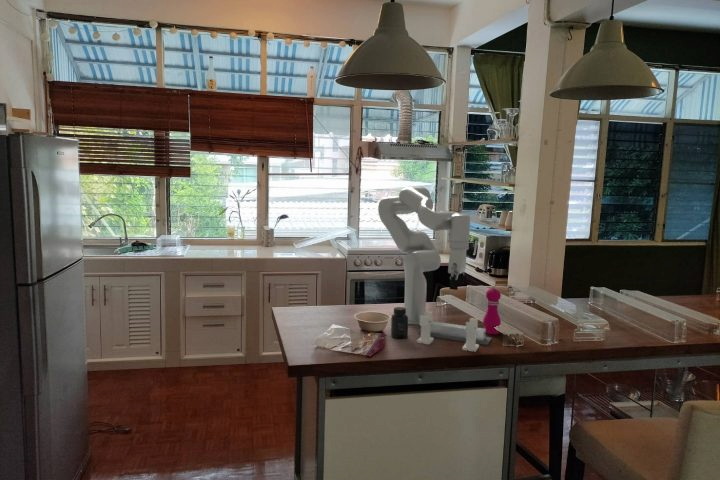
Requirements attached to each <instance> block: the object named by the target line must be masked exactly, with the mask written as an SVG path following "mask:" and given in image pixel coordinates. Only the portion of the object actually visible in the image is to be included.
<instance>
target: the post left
mask: <svg viewBox="0 0 720 480" xmlns="http://www.w3.org/2000/svg"><path fill="white" fill-rule="evenodd" d="M433 315H434V314H433V312H430V311H426V312H425V316H420V325H419V326H420V332H421V335H420V337H419V338H418V339H417V340H416V343H417V344H422V343H423V344H424V345H430V344H432V343H433V342H434V340H435V337H431V336H430V332H431V323H432V321H433V317H434V316H433Z"/></svg>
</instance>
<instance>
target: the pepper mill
mask: <svg viewBox="0 0 720 480" xmlns="http://www.w3.org/2000/svg"><path fill="white" fill-rule="evenodd" d="M501 296H502V294H501V292H500V290H498V289H497V287H496V285H494V284H493V285H492V286H491V288H489V289H488V290H487V291H486V292H485V297H486V299H487V300H486V304H487V310H486V313H485V314H484V316H483V320H482V323H483V325H484V327H483V328H484V329H486V334H488V335H498V334H499V333H500V331H499V332H498V331H497V330H496V329H495V328H494V327H496V326H499V325H501V324H502V323H501V317H500V314H499V312H498V311H499V310H498V307H499V304H500V301H499V300H500V299H501ZM499 327H500V326H499Z"/></svg>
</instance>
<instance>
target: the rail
mask: <svg viewBox="0 0 720 480" xmlns="http://www.w3.org/2000/svg"><path fill="white" fill-rule="evenodd" d="M430 333H431V334H438V335H444V336H451V337H458V338H464V339H466V334H467V332H466V325H461V324H454V323H448V322H447V323H446V322H440V321H434V320H432V323H431V332H430ZM486 335H487V333H486V329H484V327H477V330H476V340H478V341H484V340H485V338H486V337H487V336H486Z"/></svg>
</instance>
